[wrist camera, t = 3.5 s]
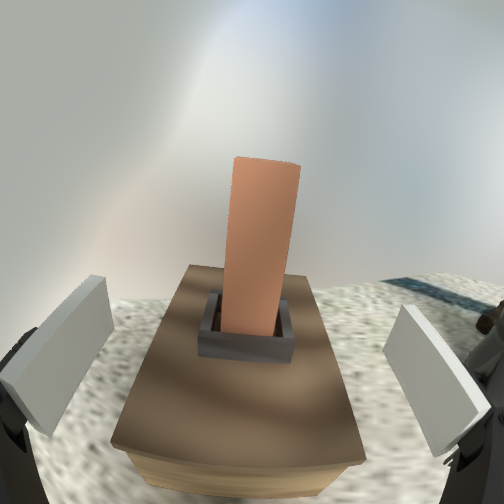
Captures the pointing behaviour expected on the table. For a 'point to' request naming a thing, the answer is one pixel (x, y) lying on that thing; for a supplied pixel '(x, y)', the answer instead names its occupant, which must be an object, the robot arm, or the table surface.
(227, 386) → the wooden socket base
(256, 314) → the wooden peg
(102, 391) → the table surface
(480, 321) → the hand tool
